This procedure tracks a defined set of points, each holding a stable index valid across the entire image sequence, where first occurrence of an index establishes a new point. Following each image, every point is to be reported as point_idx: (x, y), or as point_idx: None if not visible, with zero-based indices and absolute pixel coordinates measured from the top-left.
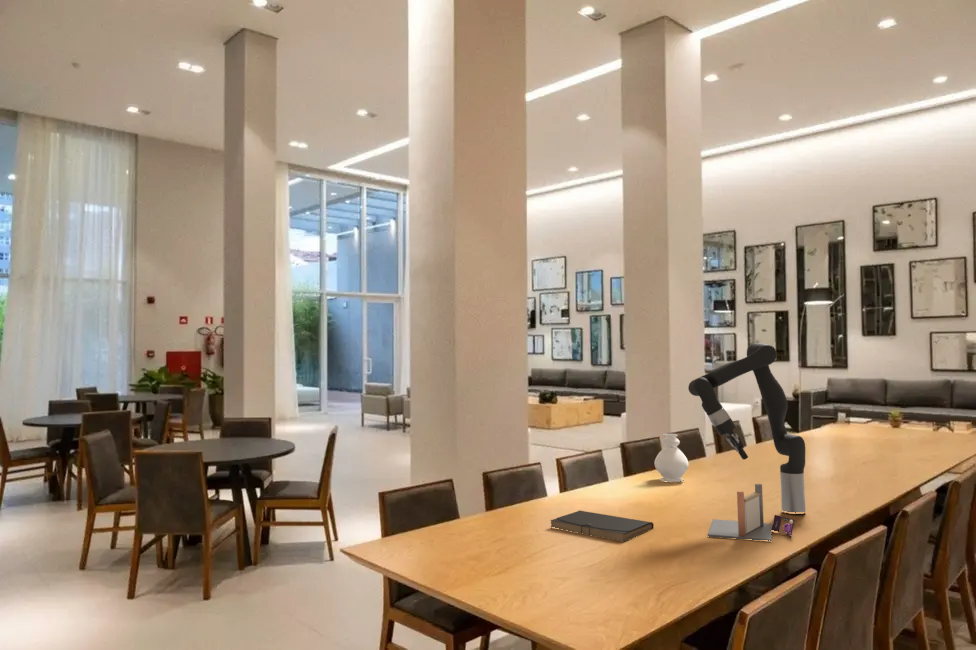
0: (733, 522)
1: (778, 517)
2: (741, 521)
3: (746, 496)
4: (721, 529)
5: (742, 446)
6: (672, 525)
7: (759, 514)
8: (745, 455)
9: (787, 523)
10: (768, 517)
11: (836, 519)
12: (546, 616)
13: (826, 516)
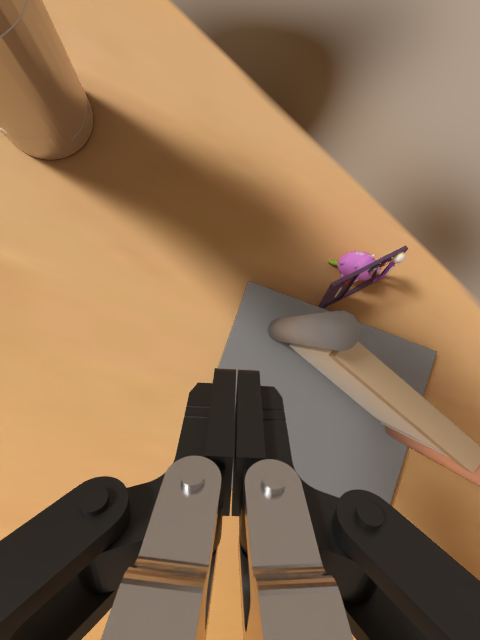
0: None
1: (349, 280)
2: None
3: (430, 428)
4: (325, 475)
5: (412, 539)
6: (234, 627)
7: None
8: (281, 412)
9: (368, 262)
10: (122, 244)
11: (158, 16)
12: None
13: (111, 26)
